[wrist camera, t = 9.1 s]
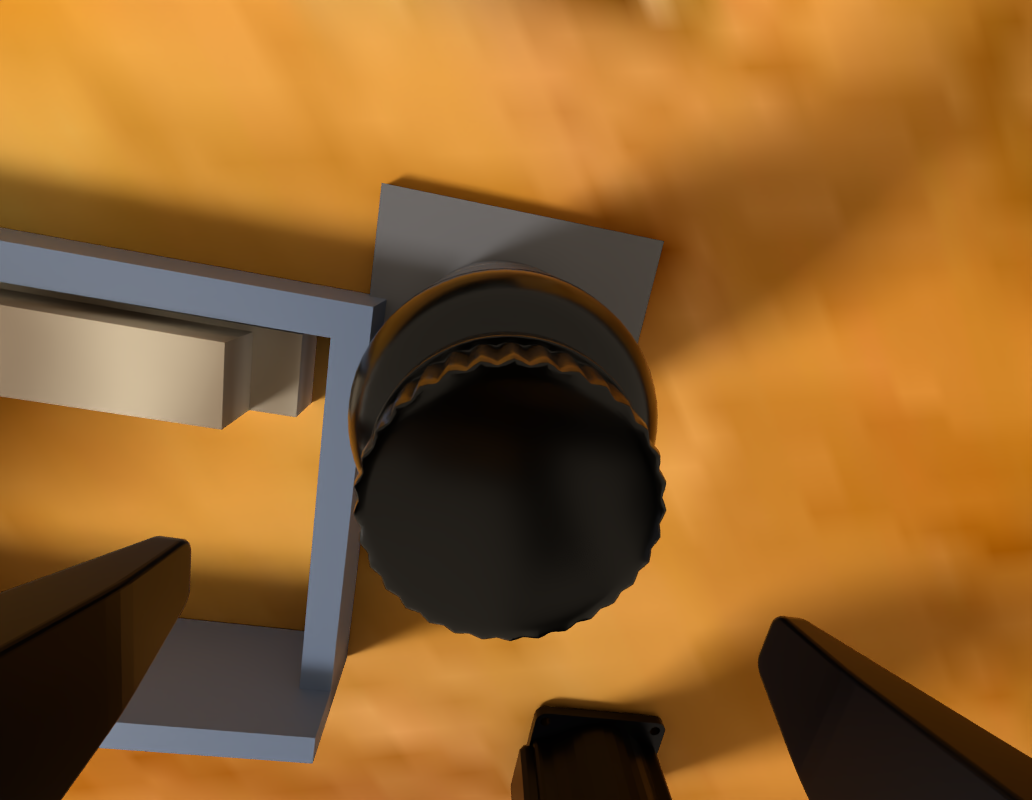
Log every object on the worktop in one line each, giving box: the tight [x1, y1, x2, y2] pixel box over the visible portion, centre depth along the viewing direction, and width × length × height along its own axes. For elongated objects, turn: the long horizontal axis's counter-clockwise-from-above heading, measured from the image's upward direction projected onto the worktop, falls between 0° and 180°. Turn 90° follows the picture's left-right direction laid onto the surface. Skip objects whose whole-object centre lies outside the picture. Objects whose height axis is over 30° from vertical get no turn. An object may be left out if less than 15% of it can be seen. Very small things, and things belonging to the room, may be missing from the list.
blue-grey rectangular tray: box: [0, 227, 387, 763], centre depth 18 cm, size 19×16×5 cm
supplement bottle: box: [348, 260, 666, 641], centre depth 13 cm, size 7×7×12 cm
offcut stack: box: [0, 282, 317, 429], centre depth 17 cm, size 13×3×4 cm, turn 79°
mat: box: [370, 183, 664, 344], centre depth 19 cm, size 10×10×1 cm
